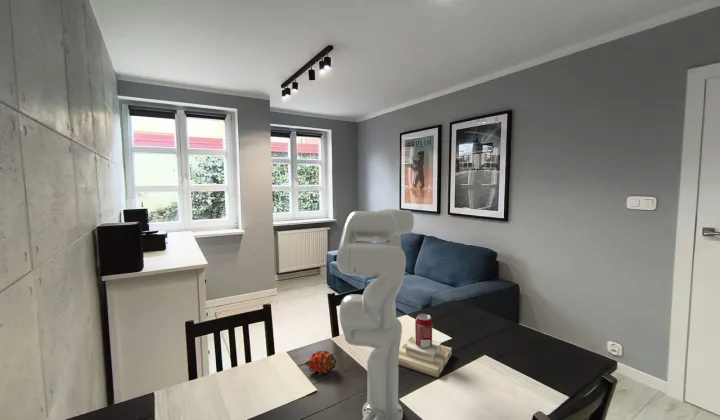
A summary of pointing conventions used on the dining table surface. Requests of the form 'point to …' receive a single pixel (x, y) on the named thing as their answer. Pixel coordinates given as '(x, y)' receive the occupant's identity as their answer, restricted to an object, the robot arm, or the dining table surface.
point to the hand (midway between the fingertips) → (390, 284)
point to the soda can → (423, 331)
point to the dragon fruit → (321, 362)
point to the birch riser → (424, 357)
